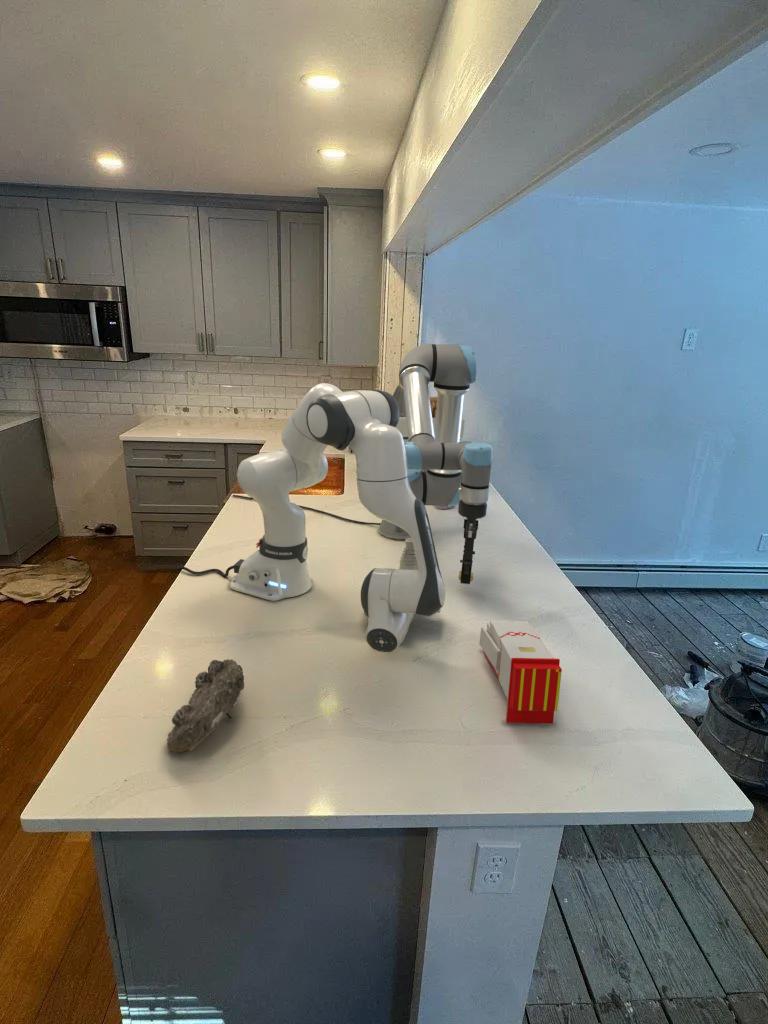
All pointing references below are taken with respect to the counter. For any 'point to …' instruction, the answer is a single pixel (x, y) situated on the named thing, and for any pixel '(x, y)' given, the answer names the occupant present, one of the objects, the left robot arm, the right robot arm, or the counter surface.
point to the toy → (523, 670)
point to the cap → (460, 576)
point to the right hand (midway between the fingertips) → (465, 579)
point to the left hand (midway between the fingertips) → (408, 582)
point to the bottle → (408, 557)
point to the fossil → (206, 705)
